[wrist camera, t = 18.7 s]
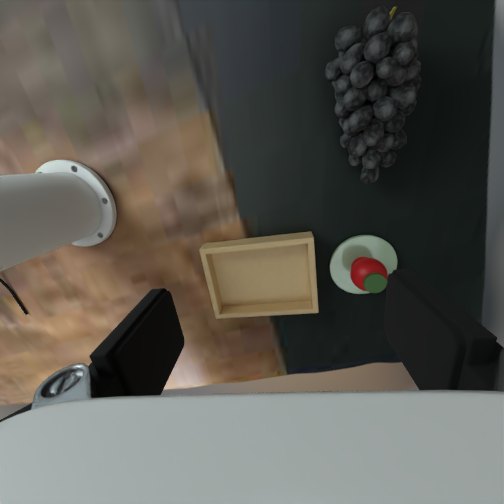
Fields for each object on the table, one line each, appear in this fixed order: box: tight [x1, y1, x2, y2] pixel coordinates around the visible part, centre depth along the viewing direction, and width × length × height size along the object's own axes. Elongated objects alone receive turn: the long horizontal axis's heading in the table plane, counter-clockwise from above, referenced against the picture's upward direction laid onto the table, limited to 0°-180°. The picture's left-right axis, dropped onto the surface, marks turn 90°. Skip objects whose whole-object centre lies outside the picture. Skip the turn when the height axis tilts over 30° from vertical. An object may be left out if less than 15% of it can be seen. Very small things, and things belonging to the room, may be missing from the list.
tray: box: [199, 231, 319, 319], centre depth 35 cm, size 16×12×3 cm
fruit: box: [325, 5, 421, 184], centre depth 24 cm, size 9×8×15 cm
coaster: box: [329, 235, 397, 294], centre depth 34 cm, size 9×9×1 cm
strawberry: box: [350, 257, 388, 293], centre depth 31 cm, size 4×4×5 cm
